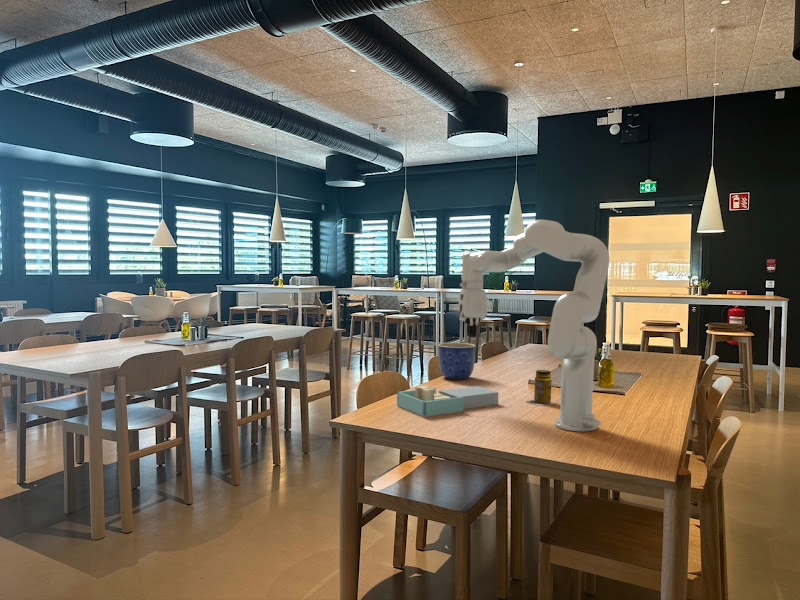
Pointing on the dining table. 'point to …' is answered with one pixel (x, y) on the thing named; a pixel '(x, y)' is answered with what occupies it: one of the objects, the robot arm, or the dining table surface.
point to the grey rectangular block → (473, 396)
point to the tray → (428, 404)
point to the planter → (456, 360)
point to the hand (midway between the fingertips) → (471, 336)
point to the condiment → (542, 388)
